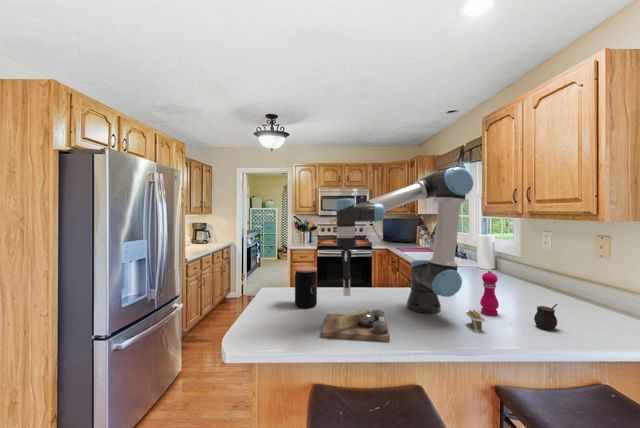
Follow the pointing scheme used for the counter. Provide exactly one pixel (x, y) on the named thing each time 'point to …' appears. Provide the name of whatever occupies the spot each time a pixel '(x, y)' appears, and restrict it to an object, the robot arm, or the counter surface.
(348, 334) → the instrument base
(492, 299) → the pepper mill
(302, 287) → the coffee jar
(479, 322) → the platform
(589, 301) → the counter surface
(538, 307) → the mate gourd
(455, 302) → the counter surface
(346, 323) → the ball-head mallet
